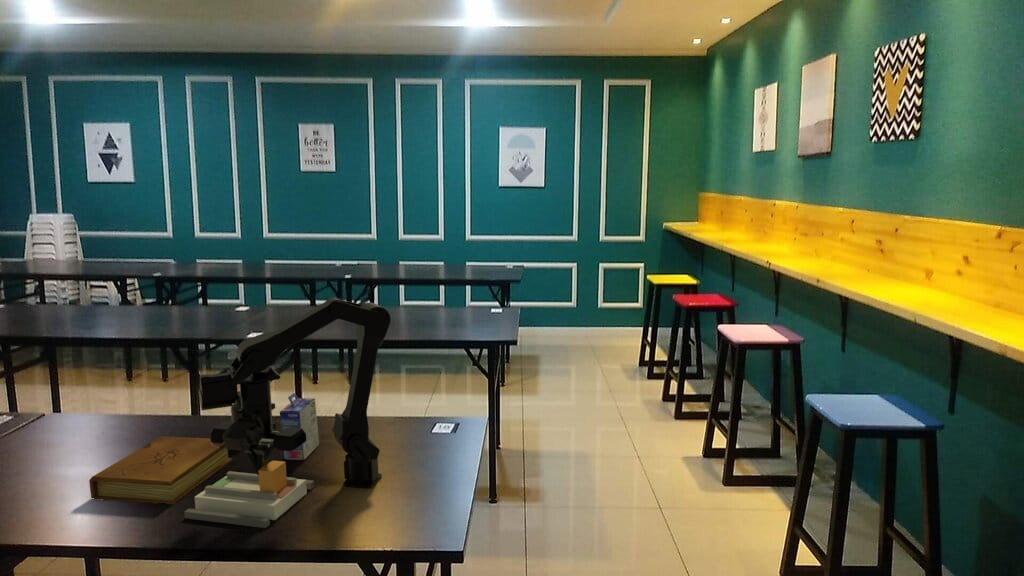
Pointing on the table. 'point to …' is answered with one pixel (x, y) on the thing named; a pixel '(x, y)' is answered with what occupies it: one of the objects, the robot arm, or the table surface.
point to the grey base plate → (233, 515)
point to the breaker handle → (273, 476)
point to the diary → (160, 470)
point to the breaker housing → (249, 496)
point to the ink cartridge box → (301, 425)
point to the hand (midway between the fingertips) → (260, 475)
